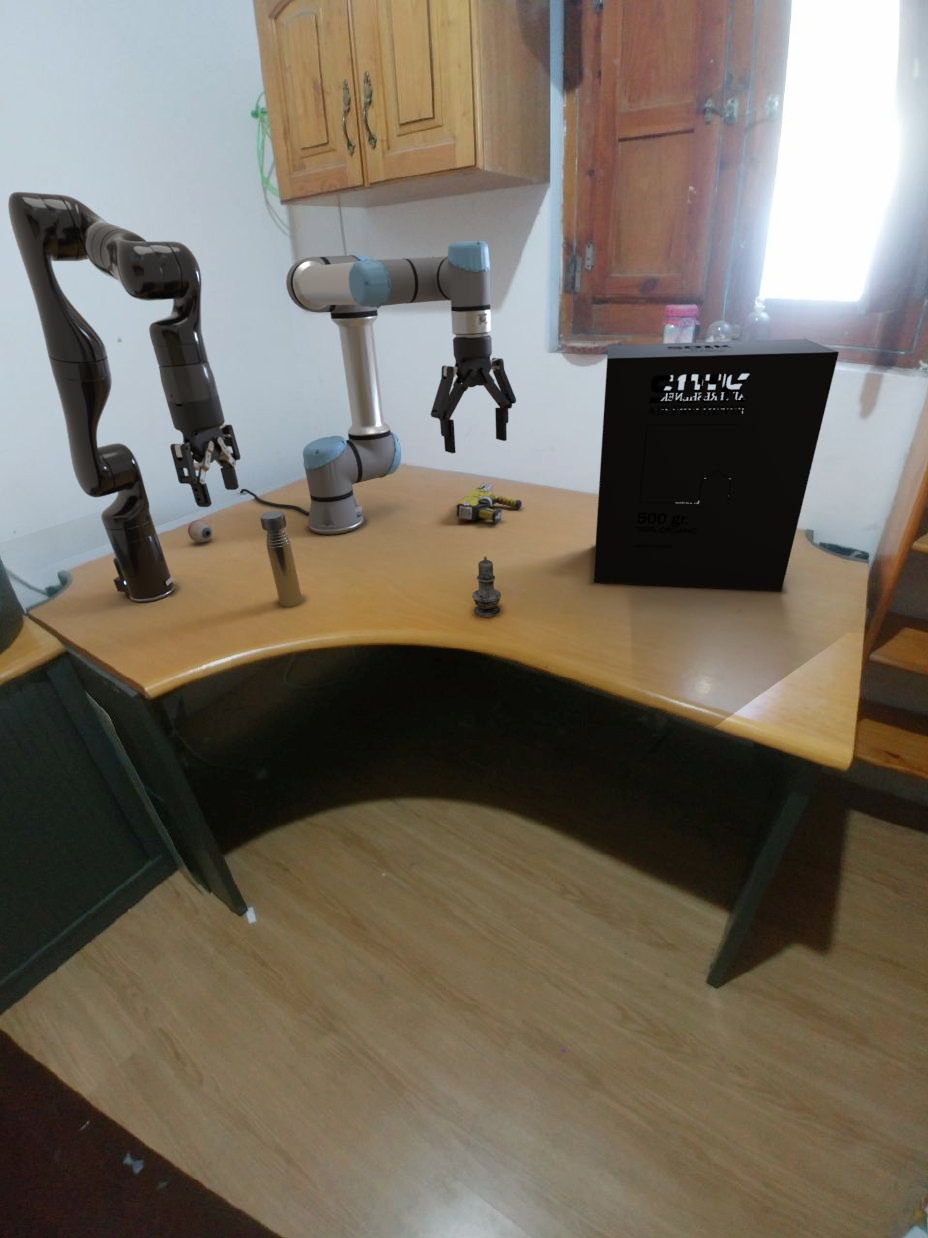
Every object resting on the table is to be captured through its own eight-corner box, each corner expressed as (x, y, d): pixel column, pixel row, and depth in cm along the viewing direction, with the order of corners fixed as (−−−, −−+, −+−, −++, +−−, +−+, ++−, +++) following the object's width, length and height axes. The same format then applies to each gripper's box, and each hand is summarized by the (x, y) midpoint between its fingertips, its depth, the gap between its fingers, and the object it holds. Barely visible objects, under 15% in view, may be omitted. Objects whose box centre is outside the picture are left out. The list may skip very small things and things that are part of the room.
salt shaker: (499, 618, 119) (498, 563, 113) (470, 616, 121) (467, 562, 115) (503, 604, 124) (502, 550, 118) (475, 602, 125) (473, 549, 119)
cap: (286, 529, 120) (283, 517, 119) (261, 532, 120) (258, 520, 118) (286, 521, 124) (284, 509, 123) (263, 524, 124) (260, 512, 122)
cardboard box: (760, 550, 140) (805, 338, 118) (781, 591, 123) (838, 351, 101) (595, 545, 148) (608, 345, 125) (593, 582, 131) (607, 358, 108)
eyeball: (201, 547, 160) (195, 526, 157) (186, 543, 163) (180, 522, 160) (220, 539, 164) (214, 518, 161) (205, 536, 167) (199, 515, 164)
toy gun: (529, 487, 179) (482, 480, 183) (508, 512, 159) (455, 503, 163) (528, 503, 181) (481, 495, 185) (506, 528, 161) (454, 519, 165)
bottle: (302, 604, 129) (283, 519, 119) (279, 608, 128) (259, 522, 119) (302, 595, 133) (284, 511, 123) (280, 598, 132) (260, 514, 123)
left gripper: (196, 387, 99) (221, 484, 107) (140, 404, 87) (173, 512, 95) (238, 386, 97) (260, 484, 105) (186, 403, 85) (216, 513, 93)
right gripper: (429, 342, 108) (437, 460, 118) (533, 329, 120) (532, 437, 131) (407, 340, 113) (417, 454, 124) (508, 328, 125) (510, 432, 136)
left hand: (219, 497), depth 100 cm, fingers open, 8 cm apart
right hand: (476, 445), depth 127 cm, fingers open, 13 cm apart
